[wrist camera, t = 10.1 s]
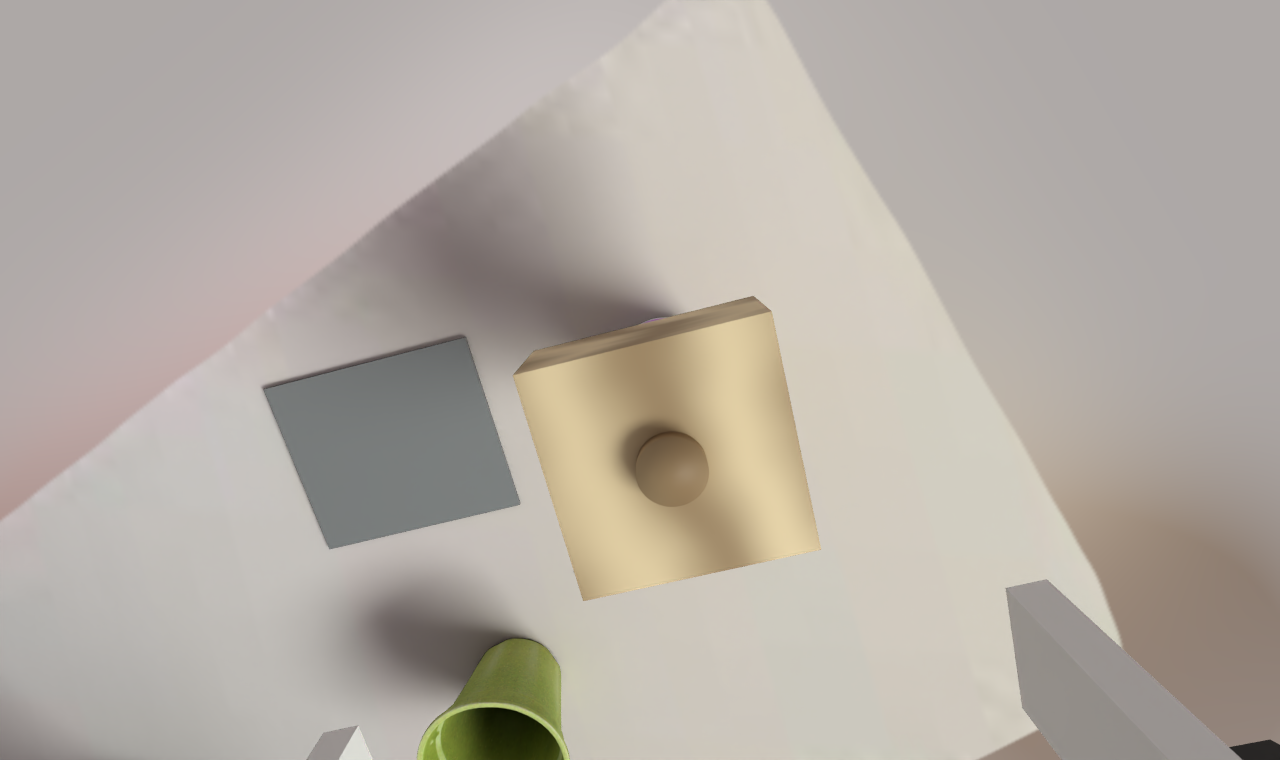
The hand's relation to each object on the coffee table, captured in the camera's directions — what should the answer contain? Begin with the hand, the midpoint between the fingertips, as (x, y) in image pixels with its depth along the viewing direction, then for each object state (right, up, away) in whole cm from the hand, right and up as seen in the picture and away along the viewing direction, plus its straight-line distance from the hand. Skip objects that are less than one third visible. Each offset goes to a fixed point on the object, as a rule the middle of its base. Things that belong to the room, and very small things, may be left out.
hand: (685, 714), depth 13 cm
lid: (0, +4, +17) cm, 18 cm away
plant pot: (-10, -15, +36) cm, 40 cm away
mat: (-17, +2, +31) cm, 36 cm away
